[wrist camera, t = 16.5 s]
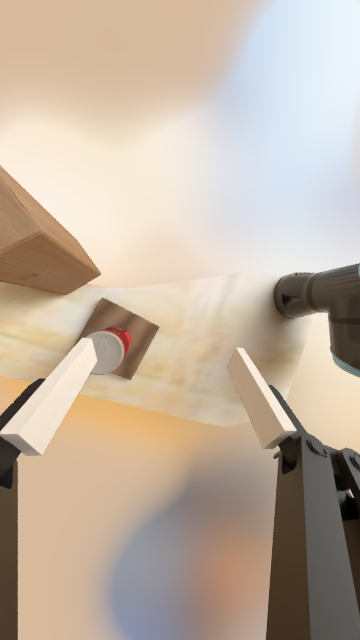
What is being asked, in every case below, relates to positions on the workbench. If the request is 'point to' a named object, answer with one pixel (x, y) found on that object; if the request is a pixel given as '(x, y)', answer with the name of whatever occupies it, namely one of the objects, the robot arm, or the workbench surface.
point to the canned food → (109, 348)
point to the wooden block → (38, 245)
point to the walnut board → (134, 324)
